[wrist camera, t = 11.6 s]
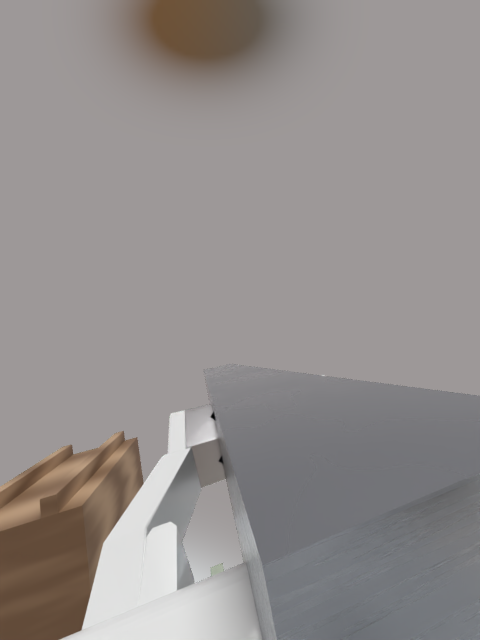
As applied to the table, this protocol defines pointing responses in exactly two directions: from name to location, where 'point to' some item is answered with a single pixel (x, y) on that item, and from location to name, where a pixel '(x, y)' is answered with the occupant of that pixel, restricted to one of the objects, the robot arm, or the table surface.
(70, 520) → the walnut stand
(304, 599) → the bar
